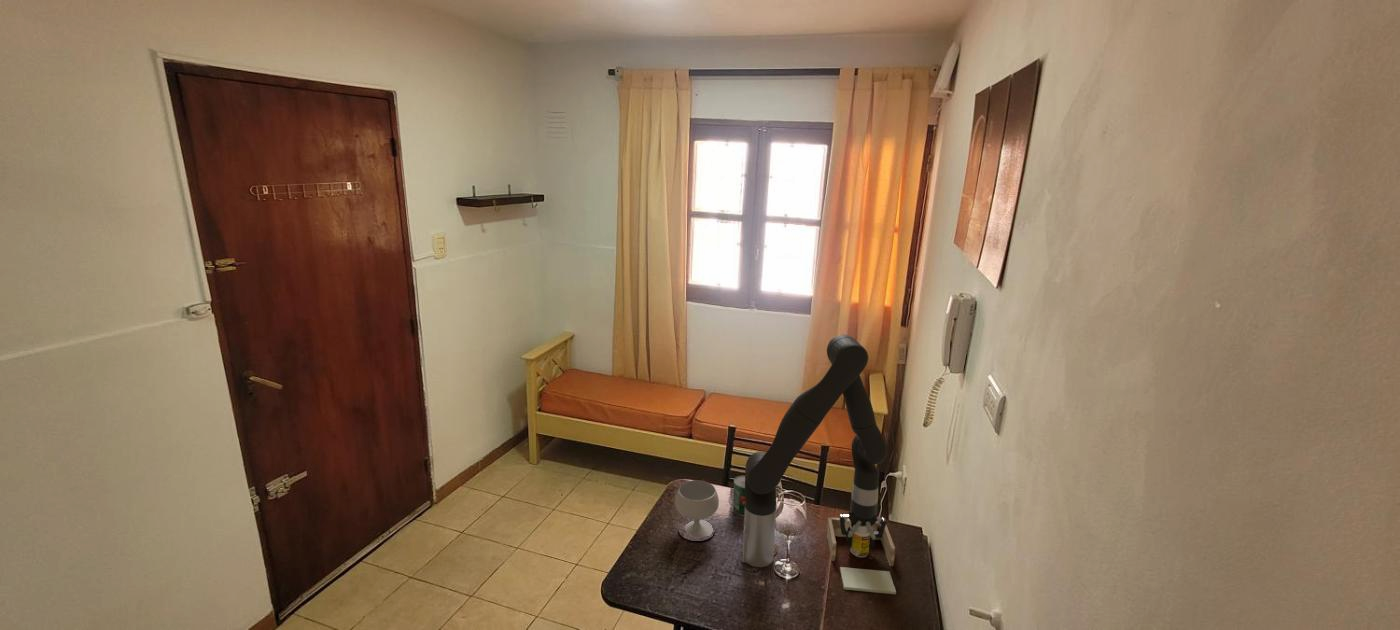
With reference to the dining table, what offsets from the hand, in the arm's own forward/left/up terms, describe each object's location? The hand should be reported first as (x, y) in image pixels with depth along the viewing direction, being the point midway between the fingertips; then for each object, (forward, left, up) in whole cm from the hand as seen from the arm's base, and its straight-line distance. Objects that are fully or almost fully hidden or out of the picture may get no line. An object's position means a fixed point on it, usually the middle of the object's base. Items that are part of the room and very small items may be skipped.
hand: (859, 546), depth 161 cm
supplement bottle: (0, 0, -2) cm, 2 cm away
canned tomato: (-36, +18, -2) cm, 40 cm away
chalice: (-51, +4, -2) cm, 51 cm away
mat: (0, -12, -2) cm, 13 cm away
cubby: (0, +2, -2) cm, 2 cm away
